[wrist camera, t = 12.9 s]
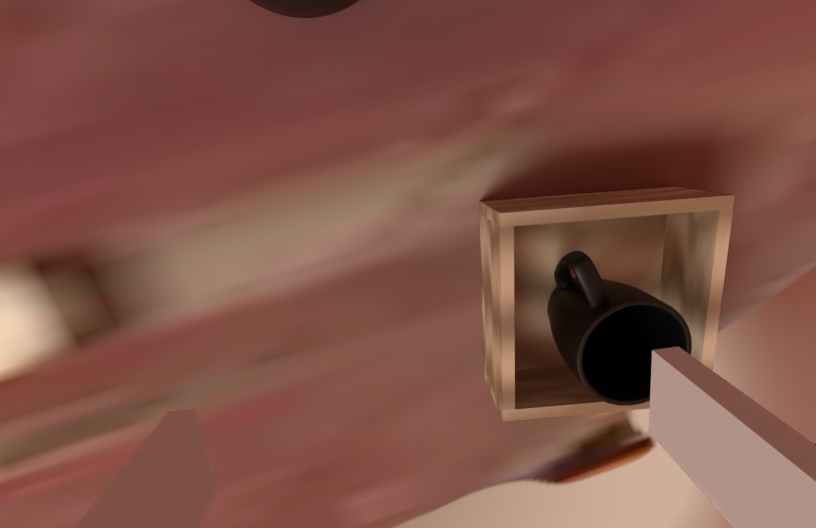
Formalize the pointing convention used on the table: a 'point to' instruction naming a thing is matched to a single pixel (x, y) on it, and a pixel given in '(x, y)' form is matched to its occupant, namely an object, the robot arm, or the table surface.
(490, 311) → the open wooden box
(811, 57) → the table surface
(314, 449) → the table surface
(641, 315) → the mug
